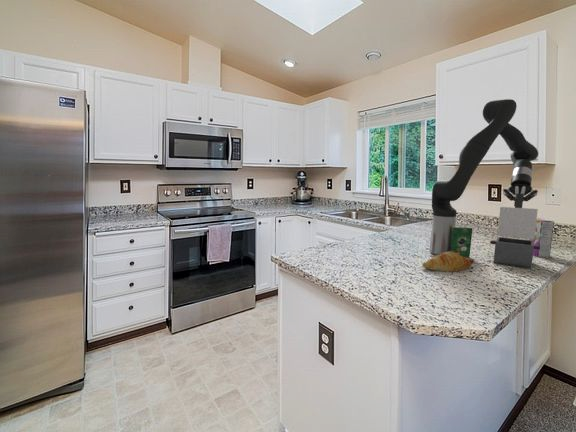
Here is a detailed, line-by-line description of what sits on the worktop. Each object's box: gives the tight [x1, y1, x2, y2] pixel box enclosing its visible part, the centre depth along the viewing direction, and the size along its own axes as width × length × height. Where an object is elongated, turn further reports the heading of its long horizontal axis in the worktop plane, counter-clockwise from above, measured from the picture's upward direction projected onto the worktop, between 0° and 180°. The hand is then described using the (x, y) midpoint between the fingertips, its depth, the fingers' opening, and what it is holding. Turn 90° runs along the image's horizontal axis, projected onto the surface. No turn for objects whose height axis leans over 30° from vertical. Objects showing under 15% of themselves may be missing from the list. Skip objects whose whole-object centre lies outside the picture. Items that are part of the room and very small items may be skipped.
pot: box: [489, 236, 540, 270], centre depth 122 cm, size 16×12×9 cm
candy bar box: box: [524, 216, 555, 258], centre depth 136 cm, size 11×5×16 cm, turn 168°
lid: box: [496, 194, 539, 240], centre depth 126 cm, size 12×18×1 cm
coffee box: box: [451, 226, 473, 258], centre depth 130 cm, size 8×3×13 cm, turn 103°
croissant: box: [421, 251, 474, 273], centre depth 114 cm, size 21×10×8 cm
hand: (518, 206), depth 132 cm, fingers closed
